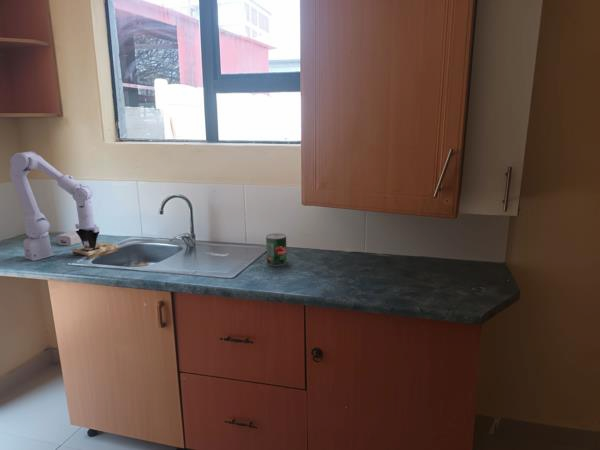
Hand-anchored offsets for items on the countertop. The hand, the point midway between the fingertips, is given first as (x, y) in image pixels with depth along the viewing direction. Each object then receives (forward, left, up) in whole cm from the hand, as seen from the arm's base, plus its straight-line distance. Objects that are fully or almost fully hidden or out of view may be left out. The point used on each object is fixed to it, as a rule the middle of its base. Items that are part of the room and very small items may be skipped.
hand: (89, 246), depth 190 cm
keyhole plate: (+2, 0, -3) cm, 4 cm away
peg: (0, 0, -3) cm, 3 cm away
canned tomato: (+31, -76, -4) cm, 83 cm away
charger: (+10, +27, -4) cm, 28 cm away
